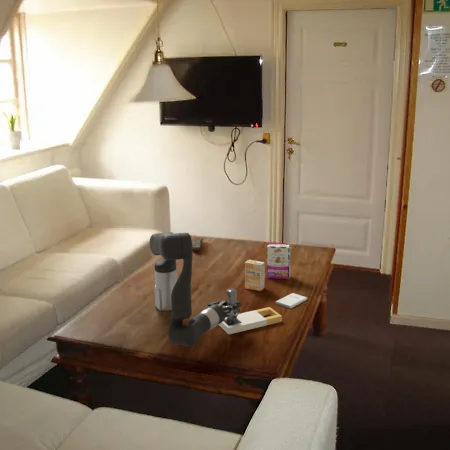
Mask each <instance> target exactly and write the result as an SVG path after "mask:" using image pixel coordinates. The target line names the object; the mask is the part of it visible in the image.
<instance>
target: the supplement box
mask: <svg viewBox="0 0 450 450" xmlns="http://www.w3.org/2000/svg"><path fill="white" fill-rule="evenodd" d="M265 270H266V269H265V262H264V261H260V260H254V259H248V260H246V261H245V262H244V289H245V290H246V289H247V290H252V291H258V292H262V291H263V290H264V289H265V279H266V278H265V277H266V276H265V273H266V271H265Z"/></svg>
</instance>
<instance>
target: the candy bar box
mask: <svg viewBox="0 0 450 450" xmlns="http://www.w3.org/2000/svg"><path fill="white" fill-rule="evenodd" d="M291 249H292V248H291V244H286V243H285V244H284V243H283V244H282V243H267V246H266V278H267V279H276V280H290V278H291V274H292V273H291V269H292V268H291V264H292V263H291V262H292V261H291V257H292V256H291V252H292V251H291Z"/></svg>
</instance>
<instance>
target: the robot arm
mask: <svg viewBox="0 0 450 450" xmlns="http://www.w3.org/2000/svg"><path fill="white" fill-rule="evenodd" d="M149 248H150V251H151V253H152V254H153V255H154V256H161V257H162V258H161V259H159V260H158V261H156V262H155V263H154V280H155V285H154V286H153V290H154V291H153V293H154V305H155V307H156V309H158V310H159V312H161V311H167V312H168V311H171V317H170V320H169V321H170V323H169V325H168V333H167V334H168V338H169V340H170V342H171V343H172V344H174V345H179V346H187V347H188V346H189V347H190V346H194V345H196V344H197V343H198V341H200V339H201V337H202V336H203V335H204V334H205V333H207V332H208V331H210V330H213V329H215V328H216V327H217V326H219V324H220V323H222V322H223V321H224V320H225V318H226V317H229V316H230V315H232V316H234V318H236V317H237V316H238V314H241V313H240V312H241V311H240V310H241V307H242V301H241V300H237V303H235V304H233V305H227V299H226V300H222V301H221V300H216V301H213V302H209V303H207V308H205V309H203V310H202V311H200V312H199V313H198V314H196V315H195V316H193V317H192V314H193V313H192V311H193V310H192V292H191V291H192V288H191V287H192V275H193V254H194V251H193V249H194V247H193V239H192V236H191V234H190V233H189V232H177V233H176V232H175V233H174V232H157V233H154V234H151V235H150V238H149ZM177 260H183V262H182V269H181V271H180V274H179V277H178V275H177V273H178V272H177ZM233 307H234V309H233ZM190 317H192V318H191V319H189V318H190ZM186 319H189V320H188V322H187V324H184V320H186Z"/></svg>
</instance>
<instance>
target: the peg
mask: <svg viewBox="0 0 450 450" xmlns="http://www.w3.org/2000/svg"><path fill="white" fill-rule="evenodd" d="M237 293H238V289H236V288H231V287H230V288H227V289H226V300H227V305H233V304H235V303H237V302H238V300H237V299H238V294H237ZM233 309H234V307H233ZM235 324H237V317H236V318H234V316H232V315H230V316H229V317H227V325H228V326H231V325H235Z"/></svg>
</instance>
